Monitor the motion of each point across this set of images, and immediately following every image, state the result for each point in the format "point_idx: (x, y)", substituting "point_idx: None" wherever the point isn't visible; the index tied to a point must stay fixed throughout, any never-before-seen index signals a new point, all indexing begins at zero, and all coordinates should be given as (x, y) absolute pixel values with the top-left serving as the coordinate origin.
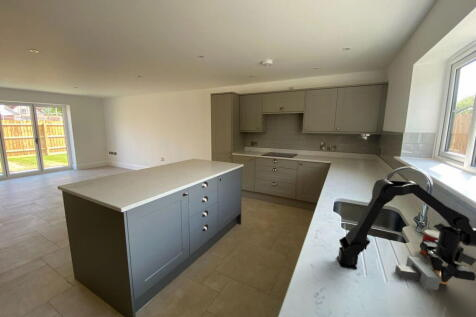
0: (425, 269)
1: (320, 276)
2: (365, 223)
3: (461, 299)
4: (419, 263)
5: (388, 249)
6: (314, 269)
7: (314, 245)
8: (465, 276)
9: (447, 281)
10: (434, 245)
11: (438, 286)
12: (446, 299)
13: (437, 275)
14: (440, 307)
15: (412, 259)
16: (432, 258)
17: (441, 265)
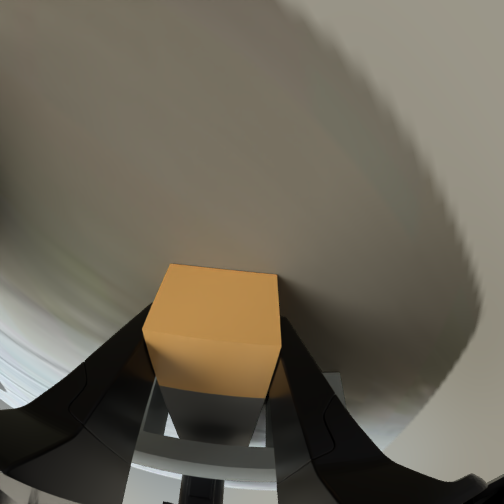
0: (249, 476)
1: (269, 485)
2: None
3: (432, 294)
4: (172, 466)
5: (10, 348)
6: (248, 486)
7: (149, 470)
8: (500, 502)
9: (278, 304)
10: None
11: (344, 401)
12: (402, 367)
13: (253, 403)
14: (416, 398)
15: (135, 462)
16: (114, 499)
17: (105, 402)
